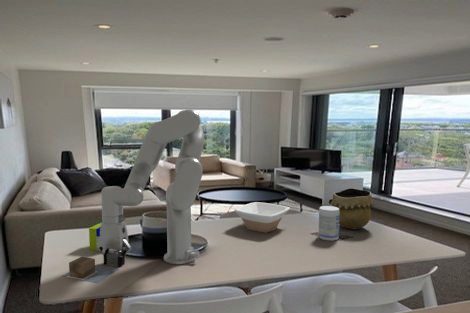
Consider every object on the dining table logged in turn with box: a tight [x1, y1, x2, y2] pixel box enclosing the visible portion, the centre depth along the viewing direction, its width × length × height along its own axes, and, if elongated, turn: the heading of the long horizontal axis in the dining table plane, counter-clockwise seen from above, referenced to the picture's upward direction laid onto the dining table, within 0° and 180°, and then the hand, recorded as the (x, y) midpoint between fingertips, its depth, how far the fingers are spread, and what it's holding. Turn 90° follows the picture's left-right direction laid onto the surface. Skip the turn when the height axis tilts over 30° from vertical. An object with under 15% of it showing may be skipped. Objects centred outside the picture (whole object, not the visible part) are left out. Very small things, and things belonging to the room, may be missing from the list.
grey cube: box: [106, 250, 122, 267], centre depth 134 cm, size 5×5×5 cm
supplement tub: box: [318, 205, 340, 242], centre depth 165 cm, size 10×10×15 cm
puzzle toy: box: [88, 221, 113, 253], centre depth 152 cm, size 10×10×10 cm
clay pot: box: [330, 187, 375, 230], centre depth 180 cm, size 21×21×20 cm
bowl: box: [233, 201, 290, 234], centre depth 181 cm, size 24×25×11 cm
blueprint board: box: [60, 264, 121, 284], centre depth 125 cm, size 16×12×1 cm
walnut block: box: [68, 256, 96, 279], centre depth 124 cm, size 6×6×5 cm
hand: (114, 264), depth 133 cm, fingers closed on grey cube, 5 cm apart
